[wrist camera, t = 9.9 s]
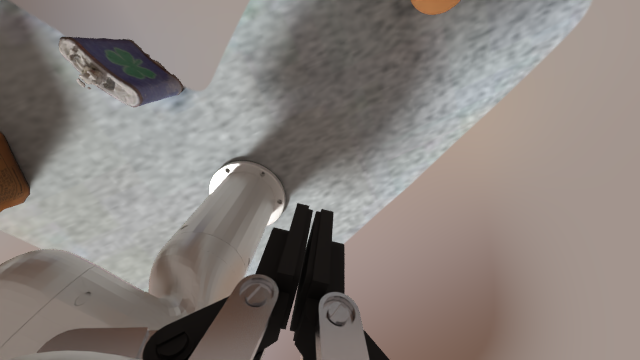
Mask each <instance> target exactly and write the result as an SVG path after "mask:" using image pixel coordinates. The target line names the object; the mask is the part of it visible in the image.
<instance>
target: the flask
mask: <svg viewBox="0 0 640 360" xmlns="http://www.w3.org/2000/svg"><path fill="white" fill-rule="evenodd" d="M59 50H60V52H61V54H62V55H63V56H64V57H65V58H66V59H67V60H68V61H69V62H70V63H71V64H72V65H73V66H74V67H75V68H76V69H77V70H78V71H79V72H80V73H81V75H79V77H80V78H81V79H82V80H84V81H85V83H86V84H94V85H96V86H97V87H99V88H100V89H102V90H103V91H105V92H106V93H108V94H109V95H111V96H113V97H114V98H116V99H118V100H119V101H121V102H123V103H125V104H127V105H129V106H131V107H137V106H141V105H144V104H147V103H150V102H154V101H158V100H161V99H163V98H167V97H171V96H175V95H179V94H180V93H181V92H182V89H183V85H182V84H181V82H180V81H179V79H177V77H176V76H175V75H172V74H170V73H169V72H168V71H167V70H166V69H165V68H164V67H163V66H162V65H161V64H160V63H159V62H157V61H155V60H152V59H151V58H150V57H149V55H148V54H146V53H144V52H143V51H142V49H141V48H140V47H139V46H137V44H135V43H134V41H132V40H126V39H123V40H120V39H119V40H113V39H106V38H100V39H94V38H90V39H89V38H79V37H78V38H77V37H76V38H73V37H61V38H60V41H59ZM77 82H78V83H79V84H80V85H81V86H82V87H85V84H84V83H83V82H82V81H80V79H79V78H78V79H77ZM88 89H91V88H90V87H88Z"/></svg>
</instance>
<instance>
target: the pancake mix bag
mask: <svg viewBox="0 0 640 360" xmlns="http://www.w3.org/2000/svg"><path fill="white" fill-rule="evenodd" d="M29 195H30V188H29V186H28V184H27V182H26V180H25V178H24V176H23V174H22V172H21V170H20V168H19V166H18V164H17V162H16V160H15V158H14V156H13V154H12V152H11V150H10V148H9V145H8V143H7V141H6V139H5V137H4V135H3V134H2V133H1V132H0V212H1V211H2V210H4V209H6V208H9V207H13V206H16V205H18V204H21V203H23V202H24V201H25V199H26V198H27V197H28V196H29Z"/></svg>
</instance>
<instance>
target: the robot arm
mask: <svg viewBox="0 0 640 360" xmlns="http://www.w3.org/2000/svg"><path fill="white" fill-rule="evenodd" d="M263 172H264V173H263ZM209 193H210V195H209V196H208V197H207V198H206V199H205V201H204V202H203V203H202V204H201V205H200V206H199V207H198V208H197V210H196V211H195V212H194V213H193V214H192V215H191V216H190V218H189V219H188V220H187V221H186V222H185V223H184V224H183V225H182V227H181V228H180V229H179V230H178V231H177V232H176V233H175V234H174V236H173V237H172V238H171V239H170V240H169V241H168V242H167V243H166V244H165V246H164V247H163V248H162V249H161V251H160V252H159V253H158V255H157V257H156V259H155V261H154V263H153V266H152V269H151V273H150V279H149V292H148V293H147V292H144V291H142V290H140V289H139V288H137V287H135V286H133V285H132V284H130V283H128V282H126V281H125V280H123V279H121V278H119V277H117V276H116V275H114V274H112V273H110V272H109V271H107V270H105V269H103V268H102V267H100V266H97V265H96V264H94V263H92V262H90V261H88V260H86V259H84V258H82V257H80V256H78V255H75V254H73V253H70V252H67V251H63V250H56V249H42V250H36V251H31V252H28V253H25V254H22V255H19V256H16V257H15V258H12V259H10V260H8V261H6V262H4V263H2V264H1V265H0V360H262V358H263V355H264V353H265V349H266V348H267V347H268V346H270V345H271V344H273V343H274V342H276V341H277V340H278V336H279V333H280V329H286V325H287V322H288V319H289V315H290V312H291V308H292V304H293V301H294V298H295V294H296V290H297V295H296V300H295V306H294V311H293V315H292V321H291V326H290V331H294V332H295V333H294V339H293V341H295V345H296V347H297V348H298V350H299V352H300V353H301V357H300V360H389V359H388V358H387V356H386V355H385V354H384V353H383V352H382V351H381V349H380V348H379V347H378V346H377V345H376V344H375V342H374V341H373V340H372V339H371V338H370V337H369V335H368V334H367V333H366V332H365V331H364V330H363V326H362V321H361V317H360V312H359V309H358V307H357V305H356V304H355V302H354V301H353V300H352V299H351V298H350V297H349V296H347V295H345V294H344V244H341V243H337V242H333V241H332V228H333V212H332V211H328V210H323V209H322V210H321V212H318V211H316V214H315V218H314V221H313V225H312V229H311V232H310V236H309V240H308V243H307V239H308V234H309V228H310V223H311V218H312V212H313V210H310V209H309V206H307V205H303V204H299V203H297V207H296V210H295V214H294V217H293V220H292V224H291V227H290V231H287V230H282V229H278V228H273V230H272V232H271V235H270V237H269V240H268V243H267V245H266V248H265V250H264V253H263V256H262V258H261V261H260V263H259V266H258V269H257V271H256V274H253V275H249V276H247V277H245V275H246V273H247V270H248V268H249V266H250V263H251V261H252V259H253V256H254V254H255V252H256V249H257V247H258V245H259V242H260V240H261V238H262V235H263V233H264V231H265V228H266V226H268V225H271V224H272V223H274V222H275V221H276V220H277V219H278V218H279V217H280V215H281V214H282V212H283V209H284V207H285V201H286V199H285V192H284V188H283V186H282V184H281V182H280V181H279V179H278V178H277V177H276V176H275V175H274V174H273V173H272V172H271V171H270V170H268V169H267V168H265V167H264V166H261V165H259V164H257V163H253V162H249V161H235V162H231V163H228V164H226V165H224V166H222V167H221V168H220V169H219V170H218V171H217V172H216V173H215V174H214V175H213V177H212V179H211V182H210V186H209ZM306 244H307V247H306ZM244 277H245V278H244ZM298 283H299V284H298ZM297 287H298V289H297Z"/></svg>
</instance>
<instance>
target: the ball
mask: <svg viewBox="0 0 640 360" xmlns="http://www.w3.org/2000/svg"><path fill="white" fill-rule="evenodd" d="M459 1H460V0H411V2H412V4H413V5H414V7H415V8H416V9H417V10H419V11H420V12H422V13H424V14H429V15H436V14H441V13H444V12H446V11H448V10H450V9H451V8H453V7H454V6H455V5H456V4H458V3H459Z"/></svg>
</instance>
